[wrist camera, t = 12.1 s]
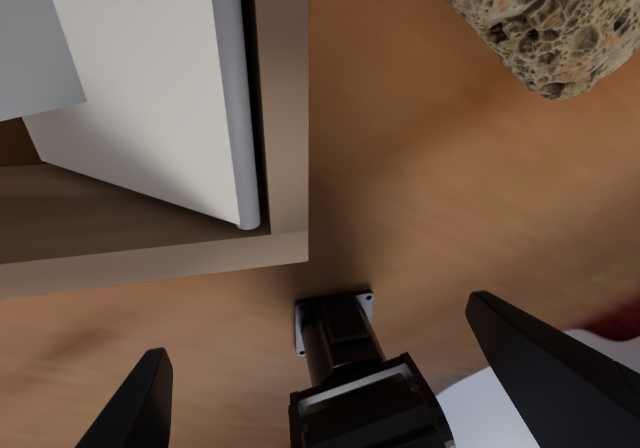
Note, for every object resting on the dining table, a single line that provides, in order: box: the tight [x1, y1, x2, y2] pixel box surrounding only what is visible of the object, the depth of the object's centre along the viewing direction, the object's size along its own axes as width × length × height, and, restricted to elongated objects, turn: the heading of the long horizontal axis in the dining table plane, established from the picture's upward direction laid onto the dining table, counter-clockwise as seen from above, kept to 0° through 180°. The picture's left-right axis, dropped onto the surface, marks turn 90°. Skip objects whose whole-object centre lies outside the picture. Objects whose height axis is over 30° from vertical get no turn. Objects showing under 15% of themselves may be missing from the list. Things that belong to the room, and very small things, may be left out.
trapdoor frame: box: [0, 0, 309, 300], centre depth 11 cm, size 16×16×8 cm
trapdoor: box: [22, 0, 260, 230], centre depth 12 cm, size 12×12×1 cm
